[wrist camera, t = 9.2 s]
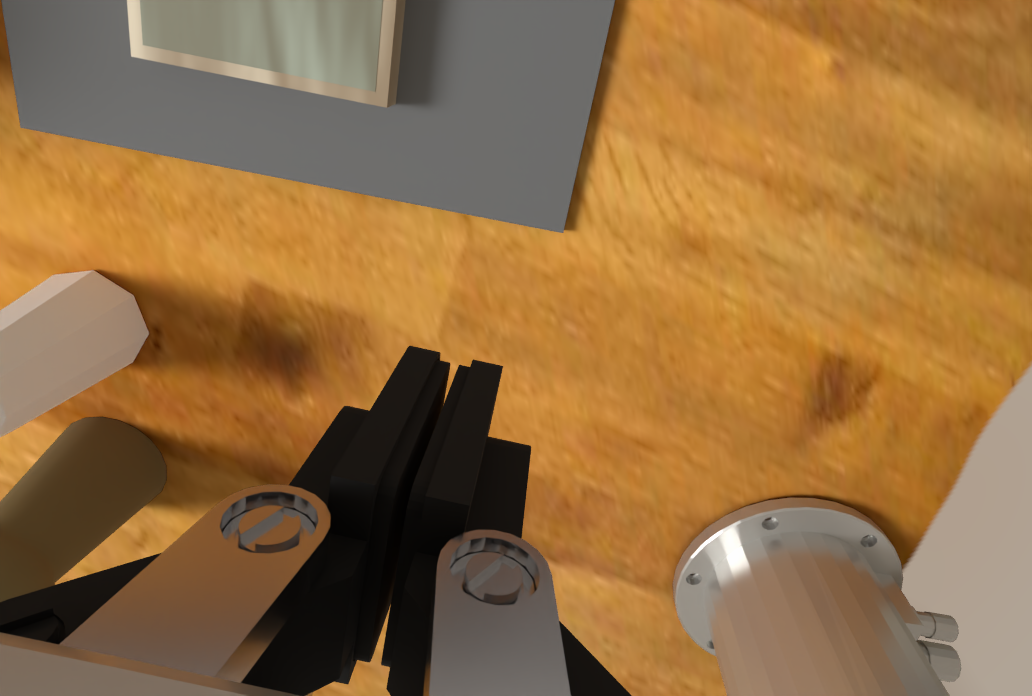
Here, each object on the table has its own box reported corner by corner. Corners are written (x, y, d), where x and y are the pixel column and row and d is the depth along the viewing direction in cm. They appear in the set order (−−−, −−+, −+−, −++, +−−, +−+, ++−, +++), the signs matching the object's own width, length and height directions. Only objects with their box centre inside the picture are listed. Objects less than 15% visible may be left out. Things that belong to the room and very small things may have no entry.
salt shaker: (95, 247, 30) (-124, 348, 21) (173, 338, 32) (7, 469, 22) (18, 298, 32) (-222, 415, 22) (98, 382, 34) (-90, 525, 24)
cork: (84, 396, 34) (-106, 542, 24) (185, 458, 36) (45, 619, 26) (42, 465, 36) (-147, 625, 26) (139, 521, 38) (-6, 691, 28)
